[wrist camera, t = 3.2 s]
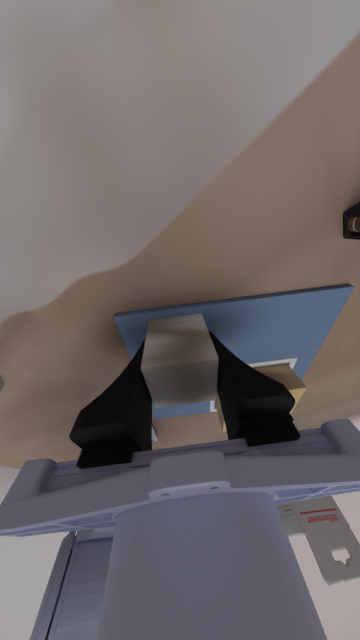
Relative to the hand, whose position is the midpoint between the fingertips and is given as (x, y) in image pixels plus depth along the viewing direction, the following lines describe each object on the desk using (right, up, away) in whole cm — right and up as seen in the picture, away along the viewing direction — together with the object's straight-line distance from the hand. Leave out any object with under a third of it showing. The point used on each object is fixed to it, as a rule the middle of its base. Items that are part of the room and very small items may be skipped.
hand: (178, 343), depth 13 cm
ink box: (+18, -20, +17) cm, 32 cm away
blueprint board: (+5, -4, +5) cm, 8 cm away
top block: (0, +1, +1) cm, 1 cm away
